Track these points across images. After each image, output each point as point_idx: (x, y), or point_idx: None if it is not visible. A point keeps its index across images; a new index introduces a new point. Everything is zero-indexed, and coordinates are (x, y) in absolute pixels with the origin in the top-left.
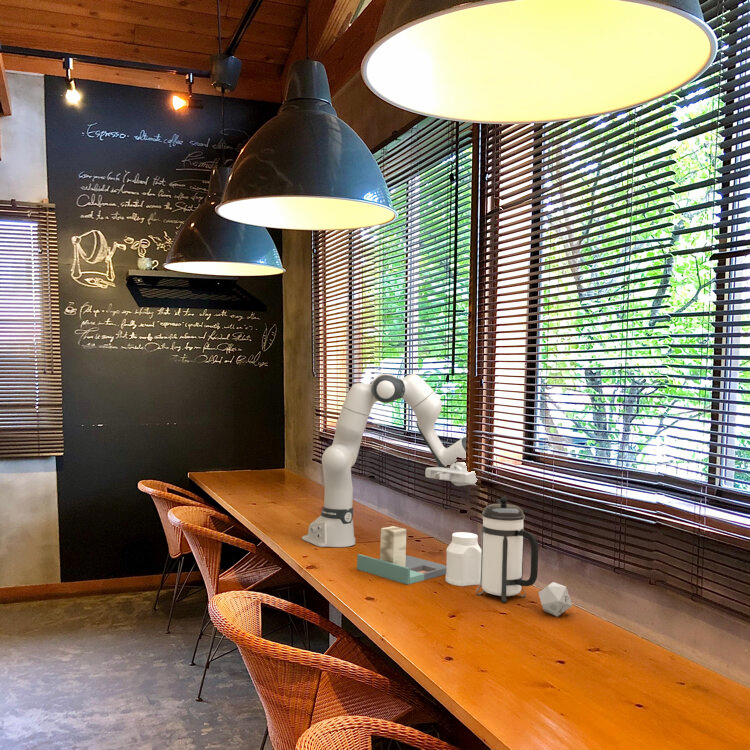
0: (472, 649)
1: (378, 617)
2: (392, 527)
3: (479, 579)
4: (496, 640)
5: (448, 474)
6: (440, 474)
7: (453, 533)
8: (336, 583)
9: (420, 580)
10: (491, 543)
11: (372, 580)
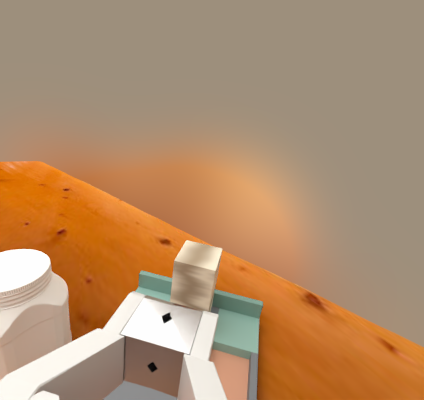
0: (45, 197)
1: (136, 216)
2: (209, 261)
3: None
4: (18, 208)
5: (6, 382)
6: (131, 292)
7: (45, 269)
8: (227, 262)
9: None
10: None
11: None
